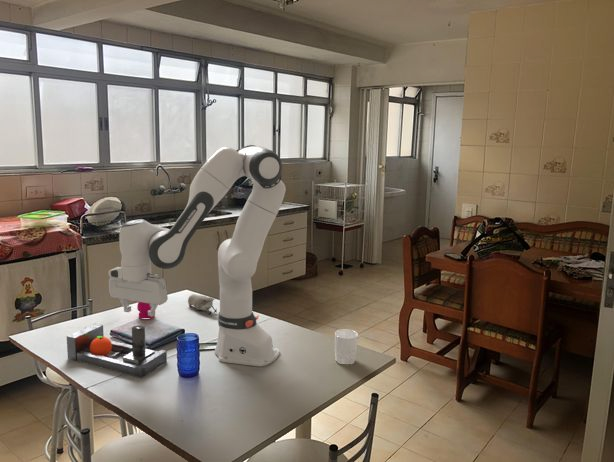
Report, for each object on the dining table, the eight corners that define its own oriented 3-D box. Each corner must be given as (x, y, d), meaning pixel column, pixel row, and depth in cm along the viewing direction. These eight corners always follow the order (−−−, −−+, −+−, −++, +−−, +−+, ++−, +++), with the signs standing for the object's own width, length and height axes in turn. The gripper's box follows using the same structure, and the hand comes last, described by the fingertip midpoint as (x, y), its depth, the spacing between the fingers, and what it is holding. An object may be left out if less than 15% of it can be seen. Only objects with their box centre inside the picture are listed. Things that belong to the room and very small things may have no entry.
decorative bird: (194, 304, 222) (194, 288, 220) (219, 314, 212) (219, 297, 210) (184, 307, 217) (184, 291, 216) (209, 317, 208) (209, 300, 206)
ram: (155, 362, 166) (154, 325, 163) (138, 372, 158) (137, 333, 156) (140, 358, 168) (139, 321, 165) (123, 368, 160) (121, 330, 158)
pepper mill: (159, 315, 207) (158, 268, 203) (149, 321, 200) (148, 272, 197) (144, 312, 209) (143, 266, 205) (133, 318, 202) (132, 270, 198)
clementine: (85, 355, 169) (84, 335, 168) (106, 349, 174) (105, 330, 173) (95, 363, 164) (94, 343, 162) (116, 357, 168) (115, 337, 167)
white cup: (339, 354, 178) (341, 327, 176) (360, 359, 174) (362, 332, 172) (329, 362, 171) (330, 334, 169) (350, 368, 167) (351, 340, 165)
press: (166, 362, 167) (166, 339, 165) (141, 378, 155) (140, 354, 154) (96, 344, 177) (95, 323, 176) (67, 358, 166) (66, 336, 164)
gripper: (170, 272, 156) (172, 314, 159) (118, 265, 163) (121, 306, 166) (157, 278, 150) (160, 322, 153) (104, 270, 158) (107, 312, 161)
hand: (139, 313), depth 160 cm, fingers open, 8 cm apart
